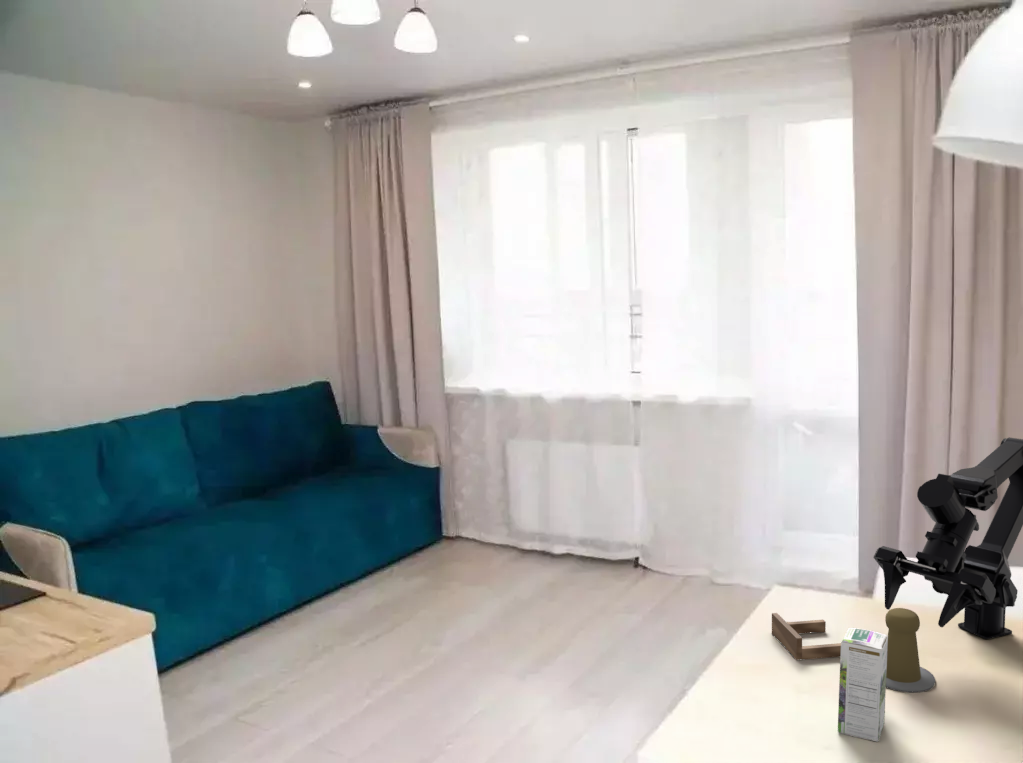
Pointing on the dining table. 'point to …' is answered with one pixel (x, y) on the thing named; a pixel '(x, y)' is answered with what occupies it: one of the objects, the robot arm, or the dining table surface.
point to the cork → (902, 646)
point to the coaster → (919, 686)
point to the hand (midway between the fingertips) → (912, 617)
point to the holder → (793, 640)
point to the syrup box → (862, 683)
